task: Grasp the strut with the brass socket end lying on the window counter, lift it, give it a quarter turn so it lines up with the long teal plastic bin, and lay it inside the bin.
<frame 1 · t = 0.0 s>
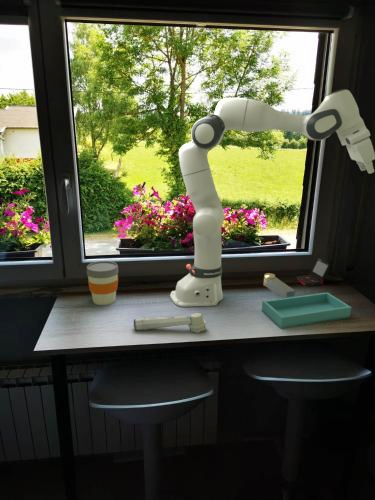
hand: (367, 171, 130), 54 cm above the table, tool tilted 30°, fingers open, 8 cm apart
strut: (278, 292, 161), on the table
white flashlight: (170, 330, 130), on the table
handheld gaming console: (311, 282, 174), on the table
reusable coffee cup: (104, 300, 151), on the table
bin: (305, 314, 142), on the table
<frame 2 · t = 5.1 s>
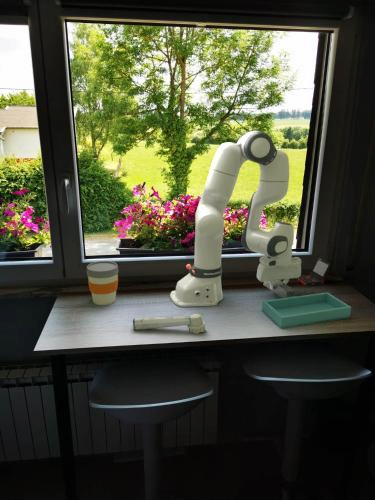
hand: (277, 288, 161), 2 cm above the table, tool pointing down, fingers closed on strut, 4 cm apart
strut: (278, 292, 161), on the table, touching gripper
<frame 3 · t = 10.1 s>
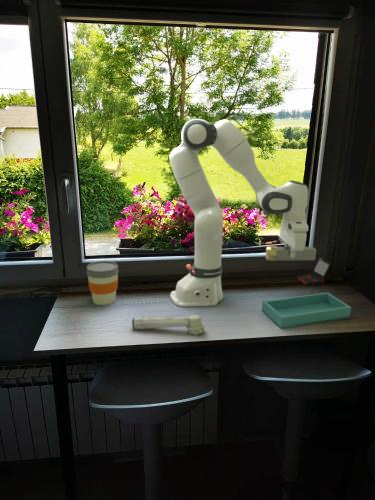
hand: (289, 255, 150), 19 cm above the table, tool pointing down, fingers closed on strut, 4 cm apart
strut: (291, 258, 151), point 18 cm above the table, touching gripper
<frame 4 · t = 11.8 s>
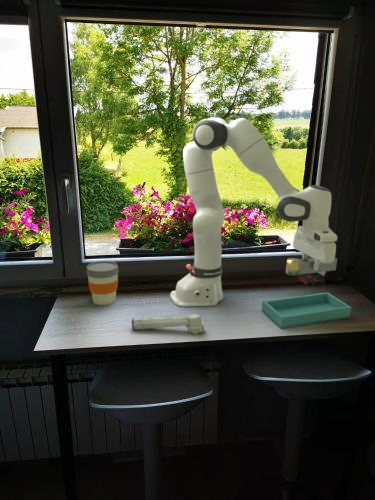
hand: (310, 267, 136), 19 cm above the table, tool pointing down, fingers closed on strut, 4 cm apart
strut: (312, 270, 137), point 18 cm above the table, touching gripper
when the fingers open (5 cm above the table, at t = 15.5 s): strut drops 2 cm, resting on bin.
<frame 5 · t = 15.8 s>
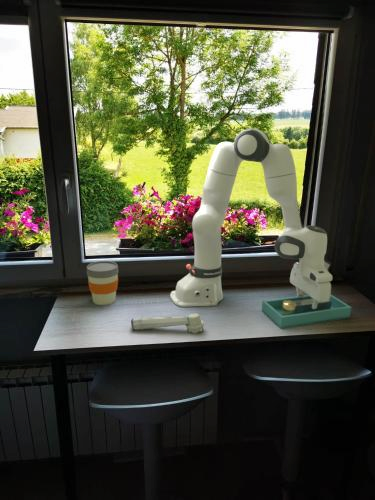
hand: (306, 303, 140), 5 cm above the table, tool pointing down, fingers open, 7 cm apart
strut: (307, 312, 142), point 1 cm above the table, touching bin
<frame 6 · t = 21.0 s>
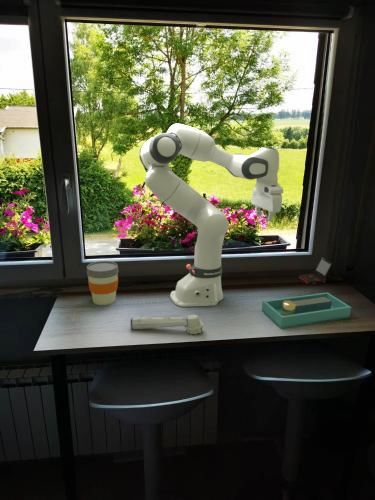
hand: (263, 218, 160), 31 cm above the table, tool pointing down, fingers open, 8 cm apart
at the end: strut inside the target area on the bin (1.0 cm from its centre), point 0.8 cm above the bin's base; the gripper is holding nothing; strut tilted 0° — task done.
